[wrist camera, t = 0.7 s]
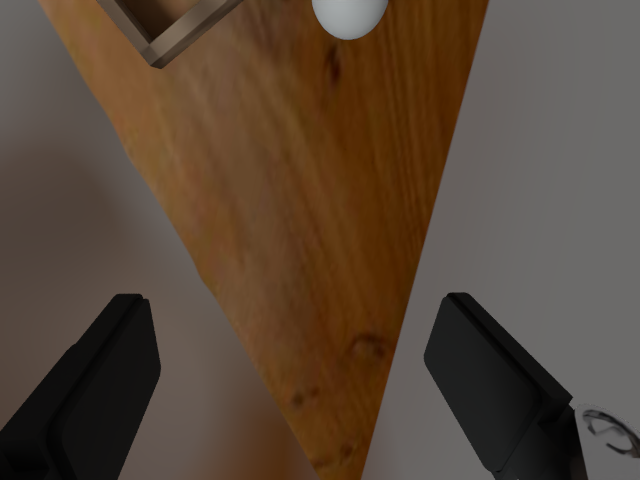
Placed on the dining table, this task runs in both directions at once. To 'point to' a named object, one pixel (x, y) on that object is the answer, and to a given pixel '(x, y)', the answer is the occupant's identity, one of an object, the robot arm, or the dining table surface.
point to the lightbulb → (349, 16)
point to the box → (177, 36)
